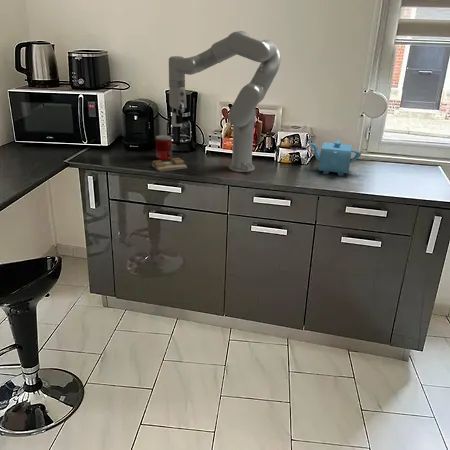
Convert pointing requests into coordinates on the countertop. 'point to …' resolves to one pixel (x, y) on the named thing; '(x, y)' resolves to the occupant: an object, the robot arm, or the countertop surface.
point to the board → (169, 165)
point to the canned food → (163, 147)
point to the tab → (174, 120)
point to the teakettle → (335, 157)
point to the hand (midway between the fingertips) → (177, 122)
